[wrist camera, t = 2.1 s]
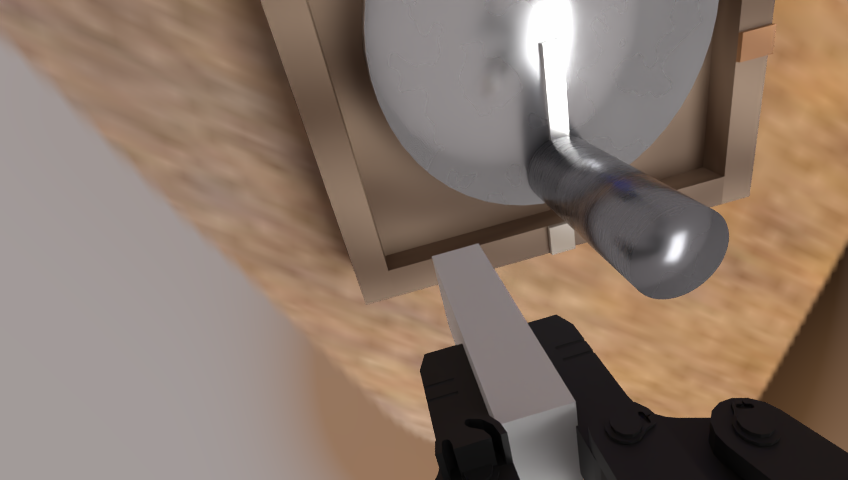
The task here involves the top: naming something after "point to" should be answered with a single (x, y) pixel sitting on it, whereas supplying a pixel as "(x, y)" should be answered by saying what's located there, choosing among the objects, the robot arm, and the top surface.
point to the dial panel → (473, 218)
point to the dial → (555, 115)
